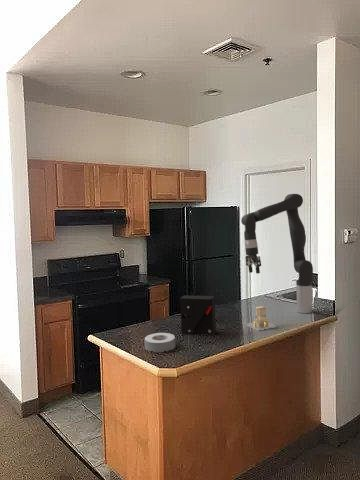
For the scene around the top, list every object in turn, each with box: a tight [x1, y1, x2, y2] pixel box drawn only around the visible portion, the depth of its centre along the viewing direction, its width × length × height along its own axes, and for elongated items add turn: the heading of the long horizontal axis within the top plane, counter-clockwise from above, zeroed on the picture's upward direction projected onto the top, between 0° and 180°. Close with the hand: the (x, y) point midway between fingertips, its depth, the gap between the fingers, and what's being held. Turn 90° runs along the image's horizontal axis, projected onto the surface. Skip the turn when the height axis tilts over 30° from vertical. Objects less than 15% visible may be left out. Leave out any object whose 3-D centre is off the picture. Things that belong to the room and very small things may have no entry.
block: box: [255, 305, 267, 326], centre depth 228 cm, size 4×4×10 cm
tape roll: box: [144, 332, 176, 353], centre depth 201 cm, size 15×15×5 cm
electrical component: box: [179, 294, 217, 336], centre depth 222 cm, size 18×10×20 cm, turn 71°
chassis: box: [245, 318, 277, 331], centre depth 228 cm, size 12×12×4 cm
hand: (254, 272), depth 247 cm, fingers open, 8 cm apart
